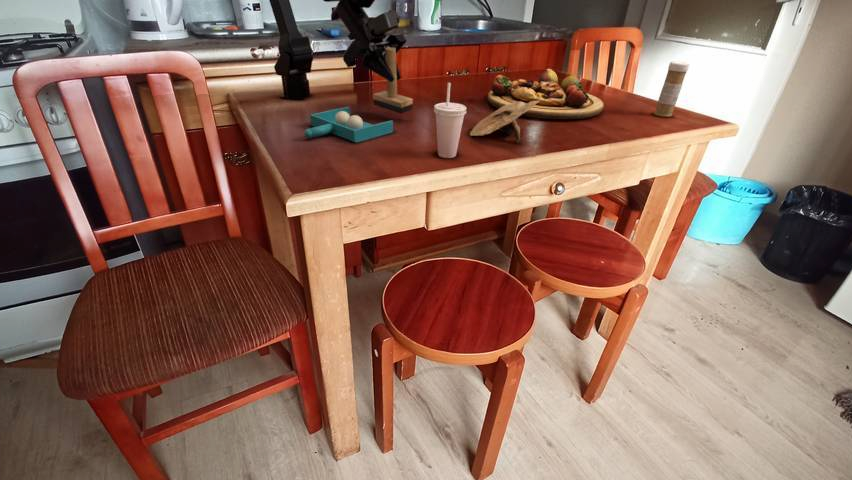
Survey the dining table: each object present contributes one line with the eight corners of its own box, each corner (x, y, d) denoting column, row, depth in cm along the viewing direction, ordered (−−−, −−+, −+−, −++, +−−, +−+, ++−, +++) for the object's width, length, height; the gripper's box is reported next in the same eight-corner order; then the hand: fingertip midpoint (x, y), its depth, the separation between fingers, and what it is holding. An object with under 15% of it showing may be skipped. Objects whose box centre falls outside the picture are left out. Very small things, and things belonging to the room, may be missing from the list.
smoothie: (429, 149, 95) (433, 79, 87) (459, 149, 96) (465, 79, 88) (433, 160, 90) (437, 86, 82) (464, 160, 90) (471, 87, 82)
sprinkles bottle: (662, 112, 125) (679, 60, 118) (675, 117, 122) (694, 63, 114) (649, 113, 124) (666, 60, 116) (662, 118, 120) (680, 64, 113)
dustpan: (349, 117, 113) (348, 106, 111) (393, 132, 104) (393, 120, 103) (285, 132, 102) (283, 120, 100) (328, 150, 93) (327, 137, 91)
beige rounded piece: (350, 123, 107) (338, 131, 106) (341, 110, 106) (329, 117, 105) (355, 120, 104) (343, 128, 103) (346, 106, 103) (334, 114, 102)
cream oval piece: (362, 128, 105) (350, 136, 104) (353, 114, 104) (341, 122, 103) (368, 124, 102) (356, 132, 101) (359, 110, 101) (347, 118, 99)
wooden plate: (473, 112, 120) (476, 79, 116) (501, 88, 145) (504, 60, 140) (598, 128, 111) (607, 93, 106) (604, 100, 135) (612, 70, 131)
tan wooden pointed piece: (463, 157, 110) (453, 126, 107) (510, 135, 113) (501, 105, 111) (504, 154, 93) (493, 117, 91) (558, 128, 97) (548, 93, 95)
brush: (401, 113, 108) (399, 53, 100) (373, 104, 113) (369, 46, 105) (412, 109, 110) (411, 50, 102) (385, 100, 116) (381, 43, 107)
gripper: (350, -3, 93) (393, 62, 95) (400, -5, 106) (437, 51, 108) (324, 36, 101) (365, 95, 103) (374, 29, 114) (409, 81, 116)
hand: (396, 79), depth 107 cm, fingers closed on brush, 2 cm apart
